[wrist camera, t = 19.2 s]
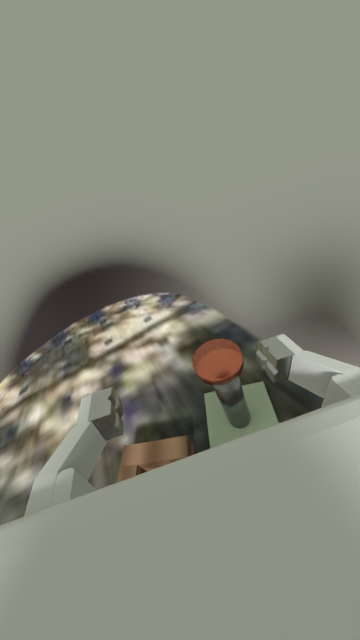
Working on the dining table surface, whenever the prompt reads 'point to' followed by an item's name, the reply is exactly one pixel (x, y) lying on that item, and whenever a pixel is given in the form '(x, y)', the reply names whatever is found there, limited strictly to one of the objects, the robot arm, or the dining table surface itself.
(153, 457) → the collar
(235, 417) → the peg
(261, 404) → the mat
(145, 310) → the dining table surface
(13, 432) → the dining table surface
